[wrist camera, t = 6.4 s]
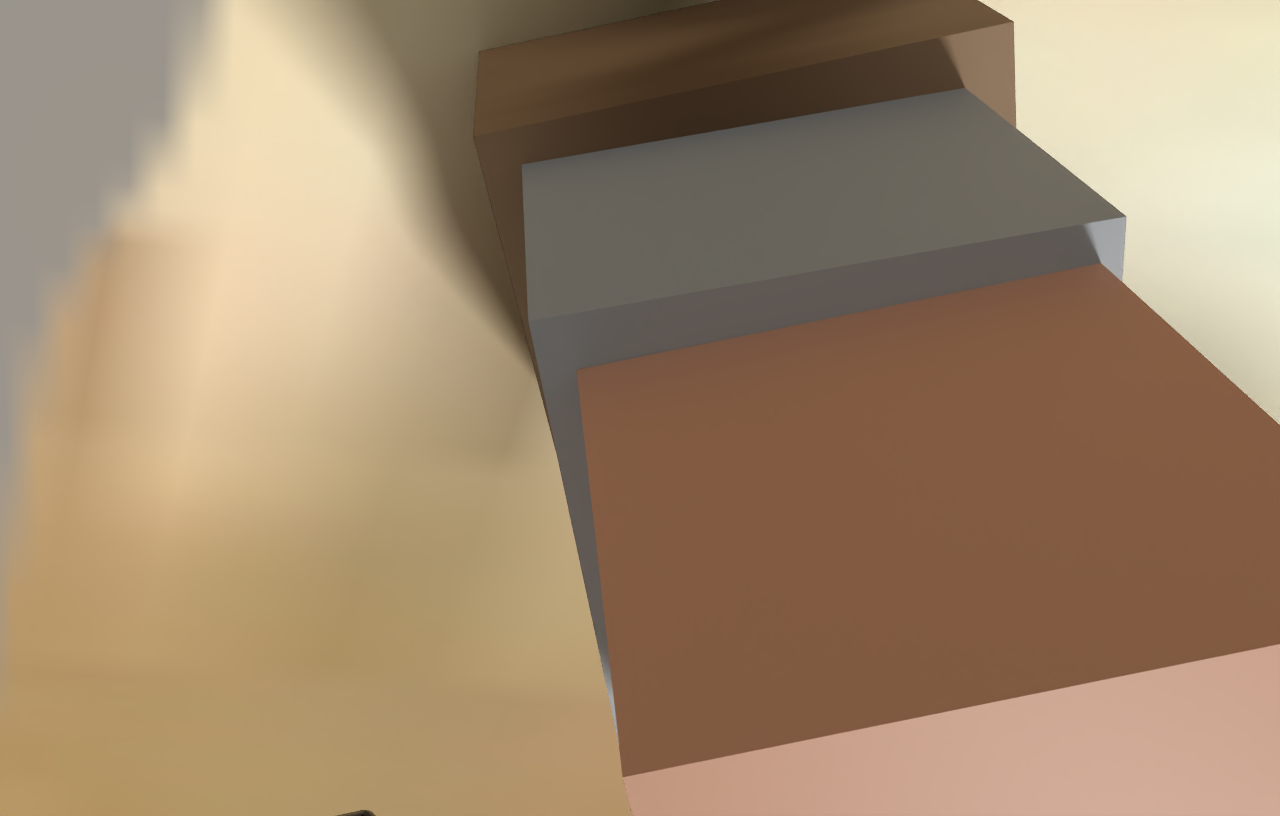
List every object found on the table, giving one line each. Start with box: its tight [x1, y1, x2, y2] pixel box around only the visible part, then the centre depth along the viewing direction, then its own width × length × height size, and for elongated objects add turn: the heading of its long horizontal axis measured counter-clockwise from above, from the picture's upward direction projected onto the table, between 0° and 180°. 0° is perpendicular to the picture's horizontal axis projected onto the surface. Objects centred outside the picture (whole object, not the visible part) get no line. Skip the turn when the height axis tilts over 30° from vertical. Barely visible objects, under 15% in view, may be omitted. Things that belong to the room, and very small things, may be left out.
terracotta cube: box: [576, 263, 1280, 816], centre depth 9 cm, size 4×4×4 cm
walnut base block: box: [473, 0, 1016, 450], centre depth 16 cm, size 6×6×4 cm
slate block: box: [522, 88, 1126, 742], centre depth 13 cm, size 5×5×4 cm
